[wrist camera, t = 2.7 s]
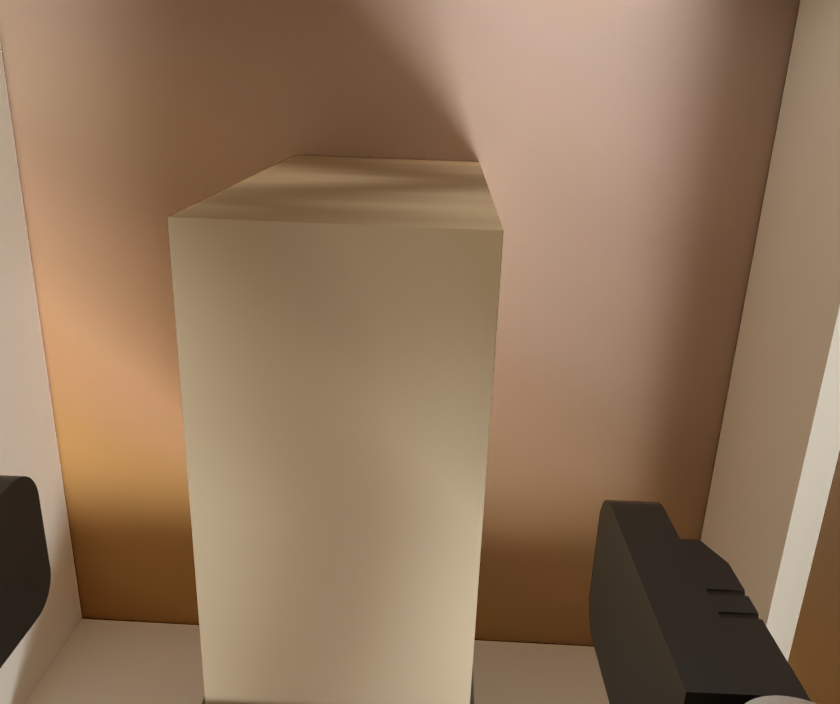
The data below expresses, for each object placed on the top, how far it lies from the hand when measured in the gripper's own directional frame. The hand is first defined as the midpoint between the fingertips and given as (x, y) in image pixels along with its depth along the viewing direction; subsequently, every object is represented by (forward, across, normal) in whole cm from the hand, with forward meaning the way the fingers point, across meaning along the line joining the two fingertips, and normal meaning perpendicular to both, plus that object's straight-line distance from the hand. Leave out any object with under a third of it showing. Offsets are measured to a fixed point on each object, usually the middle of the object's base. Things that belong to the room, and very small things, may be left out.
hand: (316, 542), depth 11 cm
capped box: (+8, 0, 0) cm, 8 cm away
